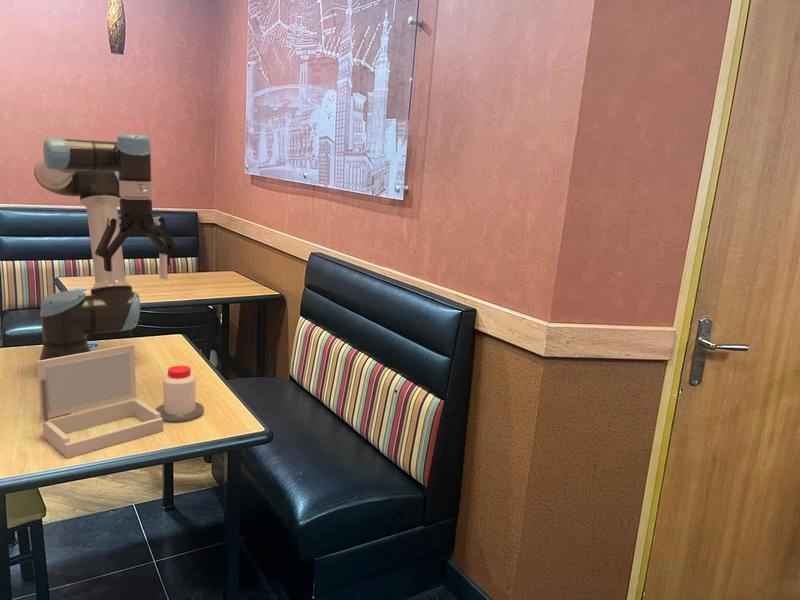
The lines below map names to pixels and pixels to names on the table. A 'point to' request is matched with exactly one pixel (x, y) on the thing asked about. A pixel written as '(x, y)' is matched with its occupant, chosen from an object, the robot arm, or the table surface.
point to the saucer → (181, 418)
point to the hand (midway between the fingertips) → (138, 281)
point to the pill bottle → (179, 391)
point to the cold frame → (92, 399)
